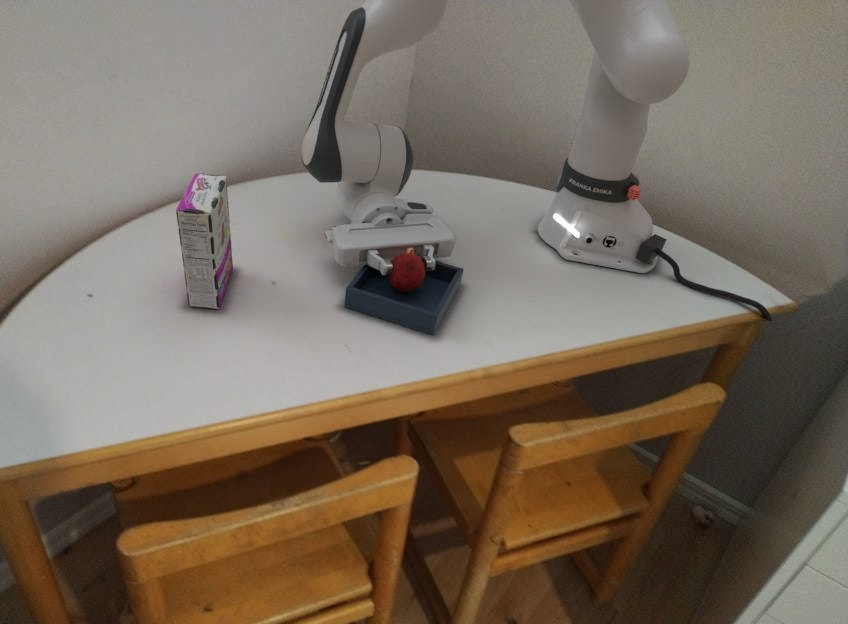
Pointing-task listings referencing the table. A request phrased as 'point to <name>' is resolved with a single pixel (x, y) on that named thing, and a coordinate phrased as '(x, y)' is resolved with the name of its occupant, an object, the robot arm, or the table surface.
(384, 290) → the tray
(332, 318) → the table surface
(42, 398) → the table surface
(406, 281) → the onion
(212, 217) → the candy bar box
